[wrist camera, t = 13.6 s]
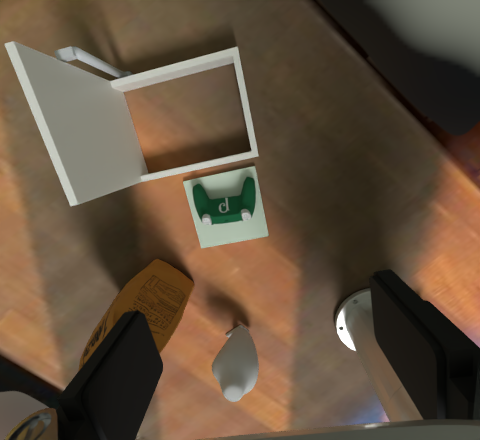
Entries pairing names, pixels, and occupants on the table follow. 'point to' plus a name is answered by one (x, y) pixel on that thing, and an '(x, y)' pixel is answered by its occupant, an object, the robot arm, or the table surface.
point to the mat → (221, 188)
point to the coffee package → (147, 304)
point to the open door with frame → (103, 117)
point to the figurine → (236, 364)
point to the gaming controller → (225, 205)
